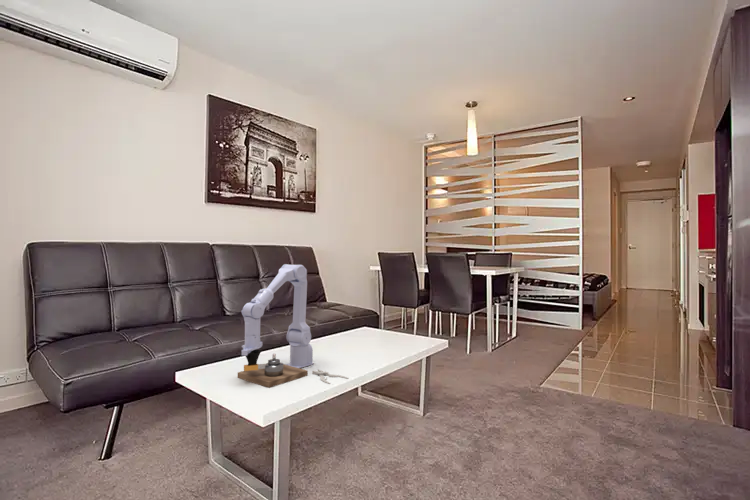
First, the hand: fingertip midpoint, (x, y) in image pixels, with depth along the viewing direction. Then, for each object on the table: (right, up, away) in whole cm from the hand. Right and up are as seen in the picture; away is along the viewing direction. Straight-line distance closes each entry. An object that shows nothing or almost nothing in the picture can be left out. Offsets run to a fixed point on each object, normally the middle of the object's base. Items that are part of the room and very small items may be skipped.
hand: (252, 369), depth 155 cm
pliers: (+28, -5, +5) cm, 29 cm away
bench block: (+7, -4, +4) cm, 9 cm away
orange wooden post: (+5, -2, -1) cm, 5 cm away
